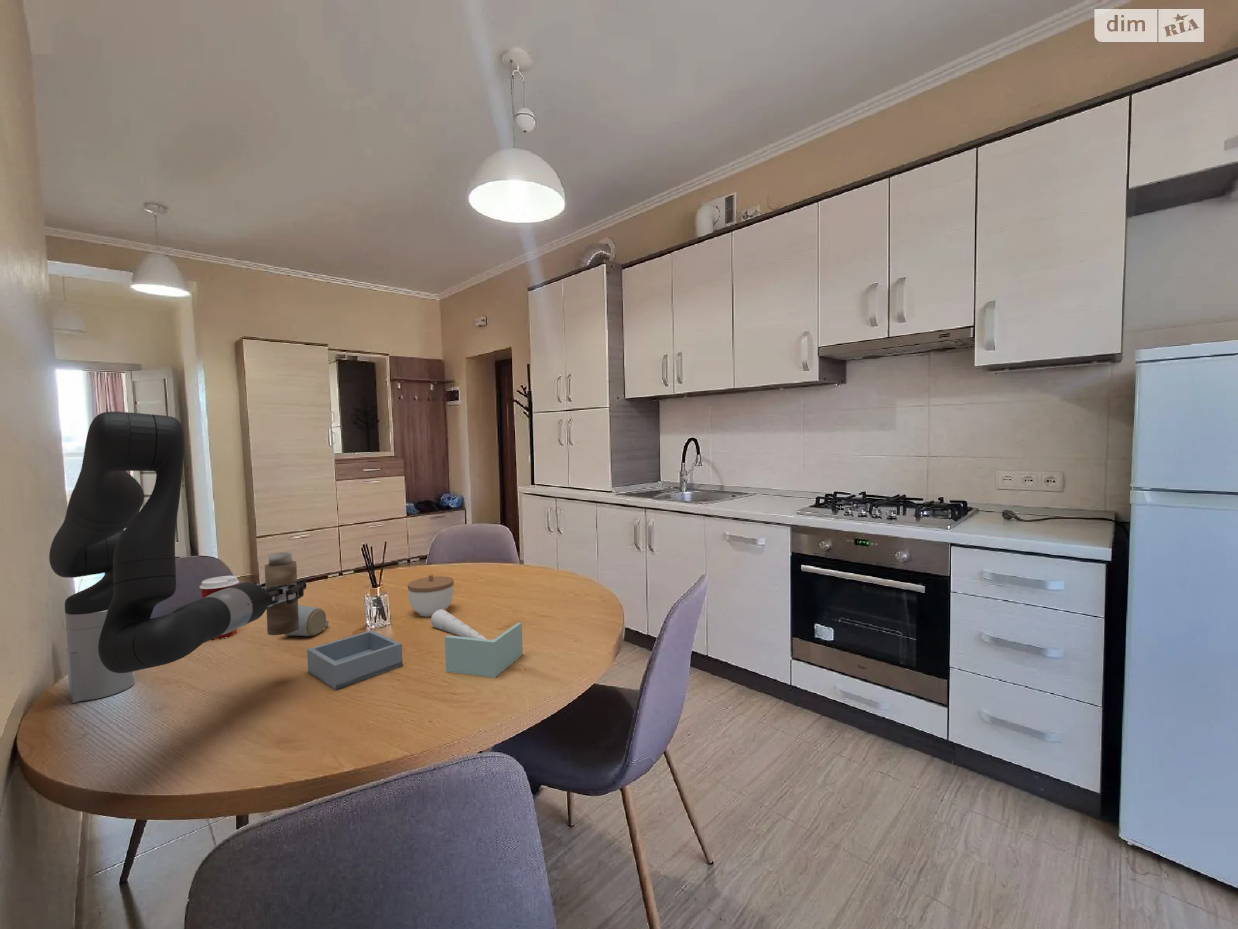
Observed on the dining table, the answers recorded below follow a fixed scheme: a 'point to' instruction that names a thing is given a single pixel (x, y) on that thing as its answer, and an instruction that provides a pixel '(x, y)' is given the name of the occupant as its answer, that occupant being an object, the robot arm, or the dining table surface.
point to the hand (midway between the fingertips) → (289, 584)
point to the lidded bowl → (430, 594)
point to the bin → (354, 659)
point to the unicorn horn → (453, 625)
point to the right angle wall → (483, 653)
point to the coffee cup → (215, 586)
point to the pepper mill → (278, 572)
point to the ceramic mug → (310, 621)
